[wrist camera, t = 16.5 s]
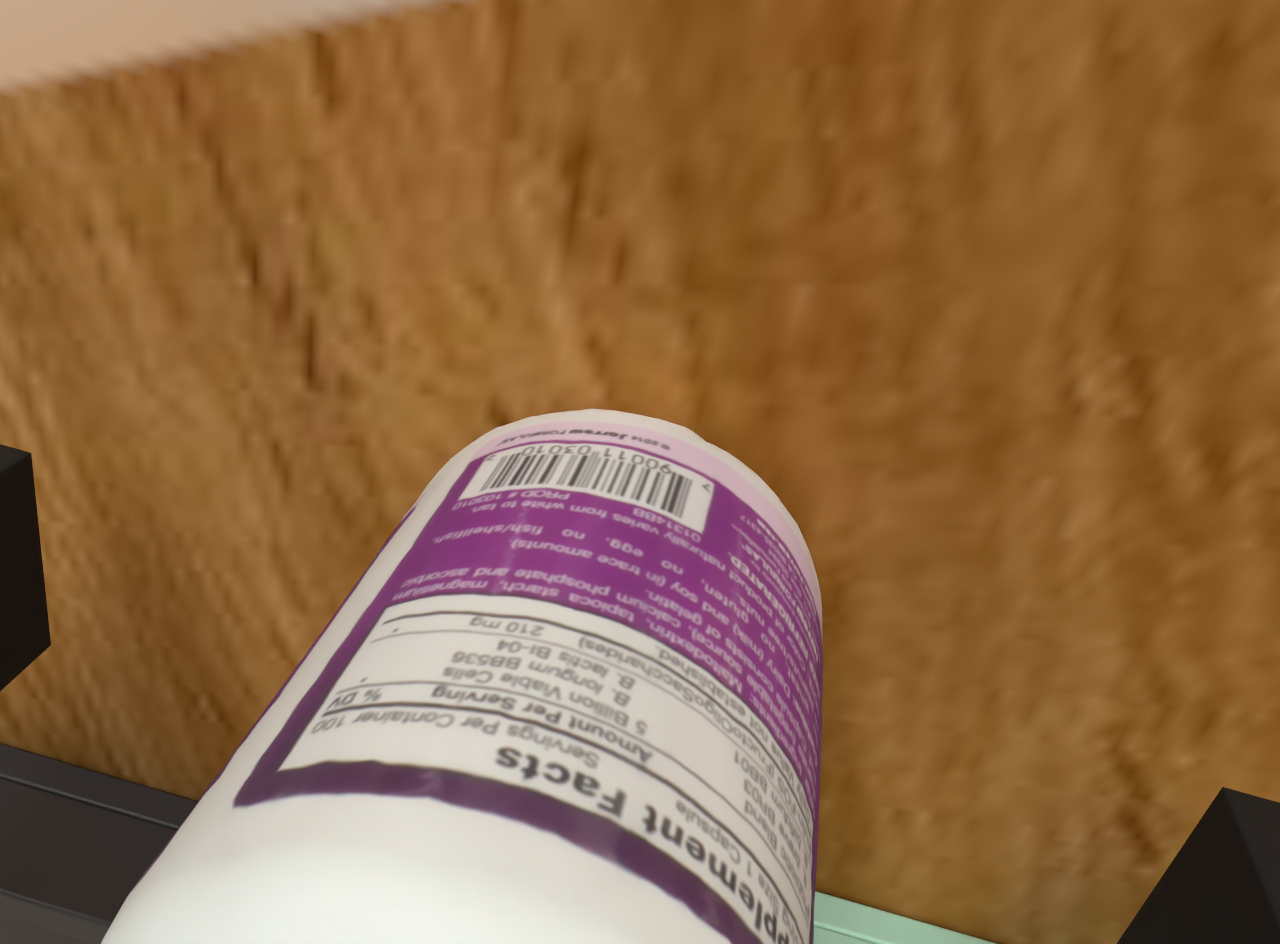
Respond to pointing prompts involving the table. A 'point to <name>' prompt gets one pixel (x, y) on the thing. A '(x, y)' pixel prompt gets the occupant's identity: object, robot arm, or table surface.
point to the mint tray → (875, 926)
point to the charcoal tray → (73, 846)
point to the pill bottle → (534, 719)
